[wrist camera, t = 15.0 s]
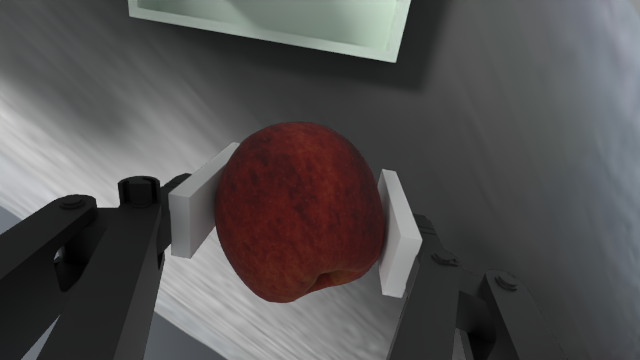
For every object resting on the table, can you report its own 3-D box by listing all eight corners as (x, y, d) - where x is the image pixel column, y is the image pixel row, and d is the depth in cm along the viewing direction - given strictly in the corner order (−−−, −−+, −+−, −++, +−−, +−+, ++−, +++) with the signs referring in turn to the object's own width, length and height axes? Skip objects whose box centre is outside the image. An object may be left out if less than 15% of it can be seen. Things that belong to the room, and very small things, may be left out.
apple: (277, 246, 19) (235, 364, 12) (220, 135, 17) (122, 201, 9) (390, 214, 18) (419, 328, 11) (346, 86, 15) (346, 121, 8)
